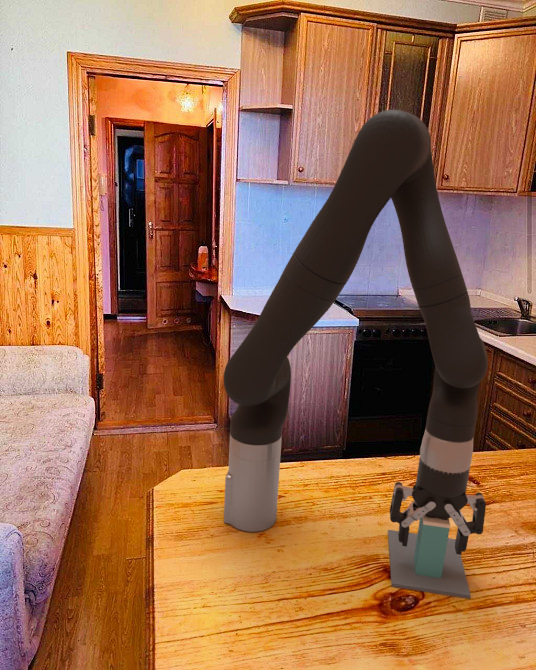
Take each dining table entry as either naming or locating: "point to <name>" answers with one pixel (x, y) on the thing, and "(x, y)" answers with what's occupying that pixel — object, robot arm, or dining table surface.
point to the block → (431, 546)
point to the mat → (406, 577)
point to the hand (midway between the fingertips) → (430, 547)
